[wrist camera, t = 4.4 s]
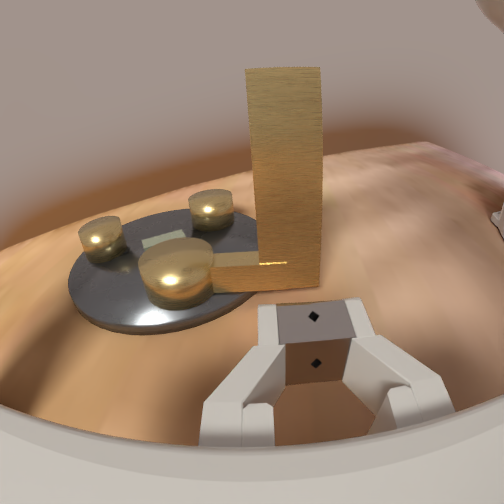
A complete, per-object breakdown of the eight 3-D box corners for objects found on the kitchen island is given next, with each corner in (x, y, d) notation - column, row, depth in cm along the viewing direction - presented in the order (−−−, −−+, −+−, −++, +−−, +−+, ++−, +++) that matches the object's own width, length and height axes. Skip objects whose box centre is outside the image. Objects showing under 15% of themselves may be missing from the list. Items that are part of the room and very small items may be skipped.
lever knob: (311, 260, 27) (309, 70, 19) (323, 303, 22) (327, 65, 14) (157, 268, 28) (122, 91, 20) (138, 310, 23) (84, 96, 15)
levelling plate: (228, 204, 44) (225, 174, 42) (318, 283, 27) (320, 239, 24) (78, 244, 37) (69, 214, 35) (67, 363, 20) (42, 321, 17)
